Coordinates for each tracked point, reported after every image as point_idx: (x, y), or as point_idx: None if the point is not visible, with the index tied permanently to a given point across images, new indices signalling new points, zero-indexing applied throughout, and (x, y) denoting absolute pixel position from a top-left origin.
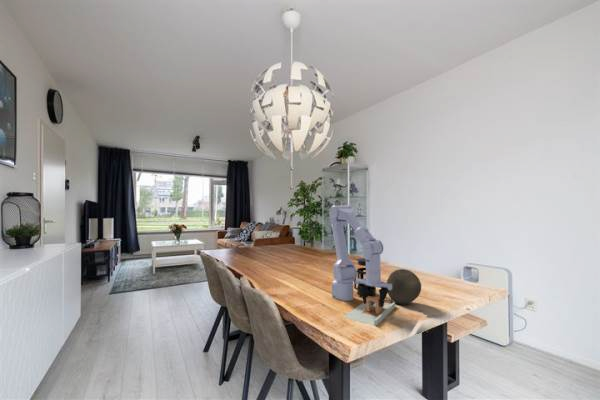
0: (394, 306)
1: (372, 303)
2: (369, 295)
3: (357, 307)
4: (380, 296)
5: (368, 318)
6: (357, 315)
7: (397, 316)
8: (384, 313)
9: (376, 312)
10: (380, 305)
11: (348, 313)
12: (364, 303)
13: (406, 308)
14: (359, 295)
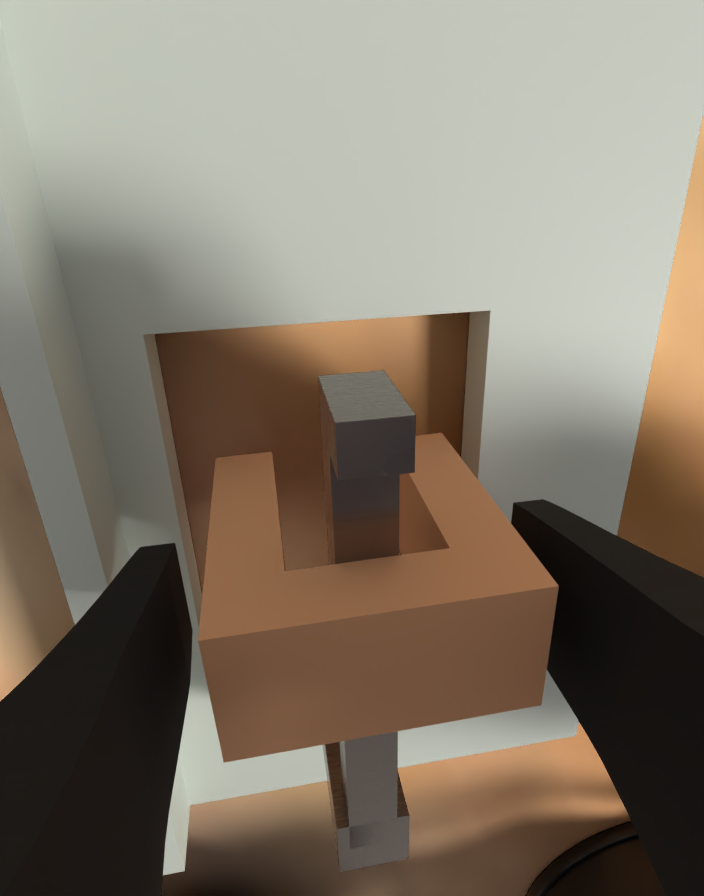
0: None
1: (328, 488)
2: (580, 870)
3: (615, 474)
4: (65, 735)
5: (264, 117)
6: (514, 128)
7: (14, 627)
8: (11, 404)
9: (255, 458)
10: (158, 558)
11: (699, 110)
12: (532, 502)
13: None
14: None
